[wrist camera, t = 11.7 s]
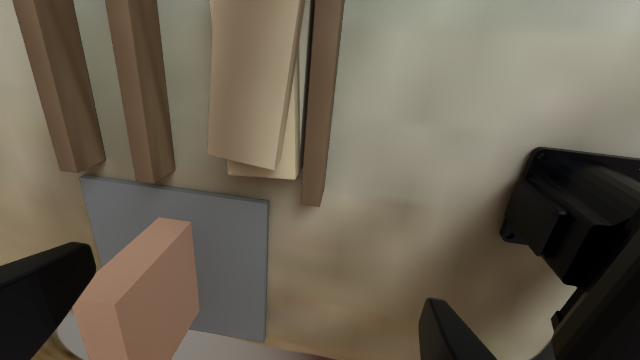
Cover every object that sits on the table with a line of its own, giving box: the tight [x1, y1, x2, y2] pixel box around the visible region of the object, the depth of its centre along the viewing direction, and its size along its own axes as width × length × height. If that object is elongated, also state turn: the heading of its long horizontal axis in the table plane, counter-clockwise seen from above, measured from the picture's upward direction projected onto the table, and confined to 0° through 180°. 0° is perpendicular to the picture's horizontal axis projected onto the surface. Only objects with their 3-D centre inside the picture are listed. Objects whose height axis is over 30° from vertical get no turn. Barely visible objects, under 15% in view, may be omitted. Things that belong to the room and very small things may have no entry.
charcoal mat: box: [79, 175, 269, 342], centre depth 26 cm, size 14×14×1 cm
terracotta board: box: [72, 217, 200, 360], centre depth 22 cm, size 2×9×8 cm, turn 175°
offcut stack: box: [207, 0, 315, 180], centre depth 17 cm, size 5×12×4 cm, turn 175°
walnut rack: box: [13, 0, 345, 207], centre depth 18 cm, size 17×15×2 cm
